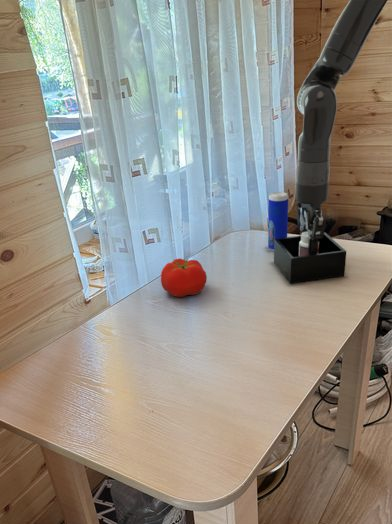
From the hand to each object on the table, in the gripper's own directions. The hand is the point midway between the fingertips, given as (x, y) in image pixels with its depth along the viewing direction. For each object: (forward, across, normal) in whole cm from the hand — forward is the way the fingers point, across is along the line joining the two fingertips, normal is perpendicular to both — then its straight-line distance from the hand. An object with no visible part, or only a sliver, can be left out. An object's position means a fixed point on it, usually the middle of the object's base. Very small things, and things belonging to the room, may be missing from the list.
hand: (308, 249), depth 127 cm
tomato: (+6, -3, +32) cm, 33 cm away
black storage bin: (+5, 0, 0) cm, 5 cm away
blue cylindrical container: (+6, +16, +3) cm, 17 cm away
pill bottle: (+5, 0, 0) cm, 5 cm away
